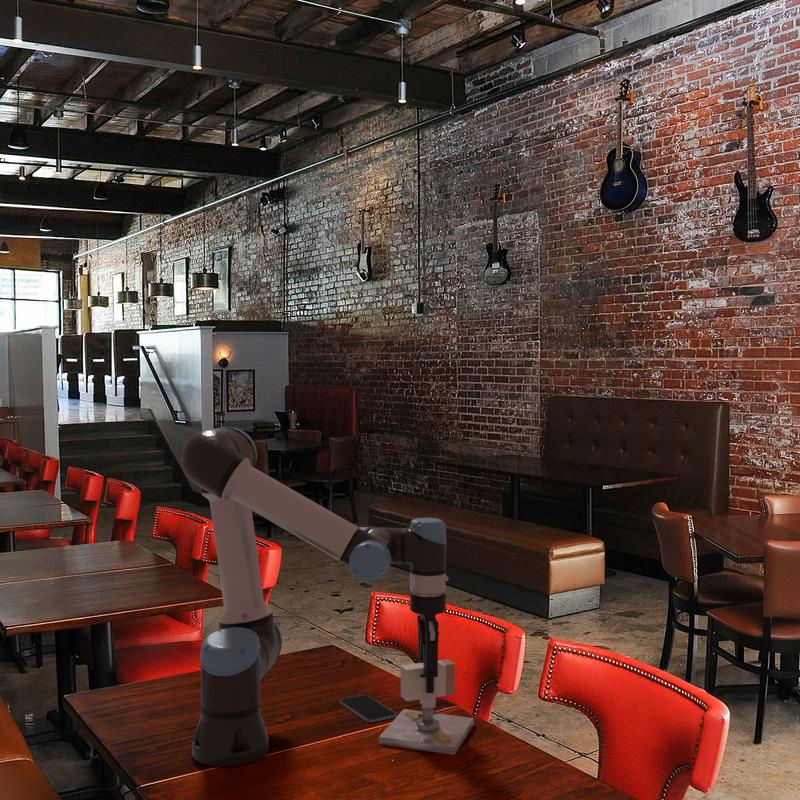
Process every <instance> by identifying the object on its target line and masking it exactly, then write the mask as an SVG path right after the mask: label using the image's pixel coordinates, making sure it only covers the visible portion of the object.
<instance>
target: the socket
mask: <svg viewBox="0 0 800 800" xmlns="http://www.w3.org/2000/svg"><path fill="white" fill-rule="evenodd" d="M474 720H475V718H474V717H467V716H463V715H462V716H459V715H453V714H446V713H445V714H444V713H438V710H434V707H433V708H423V707H422V706H421V711H420V710H413V709H407V708H403V709H402V711H400V712H399V713H398V715H396V717H395V718H393V721H392V722H391V723H390V724H389V725H388V726H387V727H386V728H385V730H383V732H382V733H381V734H380V735H379V736H378V745H383V746H392V747H396V748H397V747H398V748H403V749H405V748H406V749H410V750H417V751H426V752H433V753H440V754H446V755H451V756H452V755H453V756H455V755H456V753H457V751H458V750H459V748H460V747H461V745H462V744H463V742H464V741H465V739H466V738H467V736H468V734H469V733H470V731H471V730H472V728H473V727H474V724H475V723H474V722H475V721H474Z"/></svg>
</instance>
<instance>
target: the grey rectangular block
mask: <svg viewBox="0 0 800 800" xmlns="http://www.w3.org/2000/svg"><path fill="white" fill-rule="evenodd" d="M423 673H424V663H419V662H418V663H409V664H403V665H400V697H401V698H402V699H403V700H405V702H412V701H417V700H419V703H420V704H421V705H422V678H421V677H420V674H423ZM455 684H456V663H455V662H453V661H451V660H450V659H449V658H446V659H440V660H438V676H437V677H436V698H438V697H439V698H440V697H450V696H455V695H456V685H455Z"/></svg>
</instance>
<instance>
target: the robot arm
mask: <svg viewBox="0 0 800 800" xmlns="http://www.w3.org/2000/svg"><path fill="white" fill-rule="evenodd" d="M180 457H181V459H180V461H181V465H182V467H181V468H182V469H183V471H184V473H185V475H186V476H187V478H188V479H189V481H191V482H192V483H193V484H195V485H196V486H198V487H199V489H200V494H201V495H202V496H203V497H204V498H205V499H207V500H208V501H209V505H210V515H211V520H212V529H213V534H214V535H213V536H214V542H215V549H216V550H215V551H216V557H217V565H218V572H219V579H220V580H219V581H220V586H221V587H220V588H221V594H222V601H223V609H224V610H223V612H222V613H221V615H220V616H219V618H218V624H219V625H218V626H219V627H218V628H219V631H218V630H217V631H216V630H215V631H213V632H212V633H211V632H210V634H208V635H207V636H206V637H205V638H204V639H203V641H202V642H201V643H202V644H201V647H200V653H199V655H200V657H199V663H200V706H201V708H200V718H199V720H198V723H197V728H196V730H195V732H194V736H193V740H192V744H191V745H192V747H191V753H192V754H191V755H192V758H193V759H194V760H195V761H196V762H197V763H200V764H201V765H205V766H209V767H216V768H231V767H238V766H243V765H248V764H252V763H254V762H256V761H259V760H260V759H262V758H264V757H265V756H266V755H267V754H268V752H269V748H270V743H269V740H270V738H269V734H268V731H267V729H266V724H265V722H264V719H263V716H262V714H261V679H262V678H264V676H265V675H266V673H268V672H269V670H270V669H272V667H273V666H274V664H275V663H276V662H277V661H278V659H279V656H280V655H281V651H282V647H283V636H282V631H281V629H280V627H279V625H278V624H277V623H276V622H275V620H274V613H273V609H272V608H271V607H270V606H268V605H267V604H266V603H265V599H264V592H263V591H264V589H263V584H262V577H261V570H260V563H259V562H260V561H259V554H258V546H257V541H256V540H257V539H256V533H255V525H254V520H253V512H254V513H255V514H256V515H259V516H261V517H262V518H264V519H266V520H267V521H269V522H271V523H273V524H274V525H276V526H278V527H280V528H281V529H283V530H285V531H287V532H289V533H291V535H294V536H296V537H297V538H299V539H301V540H303V541H304V542H306V543H308V544H309V545H311V546H314V548H317V549H318V550H320V551H322V552H323V553H325V554H327V555H328V556H331V557H332V558H334V559H336V560H337V561H339V562H340V563H342V564H344V565H346V566H348V567H349V568H350V570H351V572H352V573H353V575H354V576H355V578H357V579H360V580H361V581H364V582H365V581H366V582H373V581H375V580H378V579H380V578H381V577H382V576H384V575H385V574H386V572H388V570H389V569H390V567H391V565H393V564H394V565H396V564H397V565H409V566H410V571H409V591H410V592H411V593H410V595H409V609H410V611H411V612H412V613H413V614H417V617H416V618H417V621H416V622H417V623H416V624H417V661H418V663H424V673H423V674H420V677H421V678H422V704H421V708H422V707H423V708H433V709H434V708H436V706H437V705H436V703H437V702H436V701H437V699H436V698H437V697H436V677H437V676H438V661H439V659H438V658H439V635H440V632H439V621H438V620H437V618H436V616H437V615H440V614H443V613H445V611H446V609H447V595H446V593H445V592H446V588H447V586H446V585H447V583H446V582H448V581H449V576H448V575H447V574H446V573H447V545H448V544H447V542H448V540H447V527H446V522H444V520H442V519H440V518H436V517H418V518H417V517H416V518H414V519H412V520H411V521H410V525H409V527H403V528H402V527H383V526H382V527H380V526H379V527H377V526H367V527H366V526H365V527H364V526H361V527H359V526H357V525H355V524H353V523H351V522H350V521H349V520H346V519H345V518H343V517H341V516H339V515H337V514H336V513H334V512H332V511H331V510H330V509H327V508H326V507H324V506H322V505H320V504H318V503H317V502H315V501H313V500H311V499H310V498H307V497H306V496H305V495H303V494H301V493H299V492H298V491H296V490H294V489H292V488H290V487H289V486H287V485H285V484H283V483H281V482H280V481H278V480H276V479H275V478H272V477H271V476H269V475H267V474H266V473H264V472H262V471H261V470H259V469H257V468H255V465H256V463H257V458H258V453H257V447H256V444H255V442H254V440H253V439H252V437H251V436H250V435H249V434H247V433H246V432H245V431H244V430H242V429H239V428H235V427H230V426H227V427H226V426H221V427H216V428H213V429H207V430H202V431H200V432H197V433H195V434H194V435H192V436H191V437H189V439H188V440H187V441H186V442H185V444H184V445H183V448H182V451H181V456H180Z"/></svg>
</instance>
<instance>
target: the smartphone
mask: <svg viewBox="0 0 800 800" xmlns="http://www.w3.org/2000/svg"><path fill="white" fill-rule="evenodd" d="M339 703H340V705H342V706H344V707H345V708H346V709H347V710H349V711H350V712H352V713H353V714H355V715H356V716H357V715H358V716H357V717H359V718H360V719H362V720H363V721H364V720H365V721H364V722H366V723H368V722H369V724H374V723H373V722H375V723H378V722H377V721H379V722H382V721H381V720H384V721H387V720H386V719H388V720H392V719H395V718H396V717H397V713H396V711H395V712H394V711H393V710H392V709H390V708H388V707H387V706H386V705H383V704H382V703H380V702H379V701H377V700H375V699H374V698H373V697H371V696H370V695H367V694H361V695H360V694H359V695H356V696H351V697H346V698H340V700H339ZM394 717H395V718H394ZM391 718H392V719H391Z"/></svg>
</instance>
